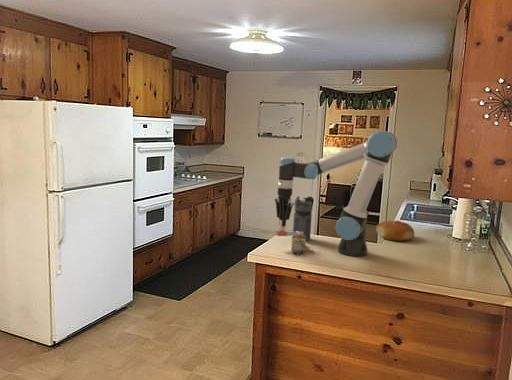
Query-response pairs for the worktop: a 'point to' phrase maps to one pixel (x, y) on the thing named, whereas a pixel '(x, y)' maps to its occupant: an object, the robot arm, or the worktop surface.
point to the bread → (395, 231)
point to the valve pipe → (298, 244)
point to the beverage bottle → (303, 215)
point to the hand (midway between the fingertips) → (281, 231)
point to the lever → (289, 233)
